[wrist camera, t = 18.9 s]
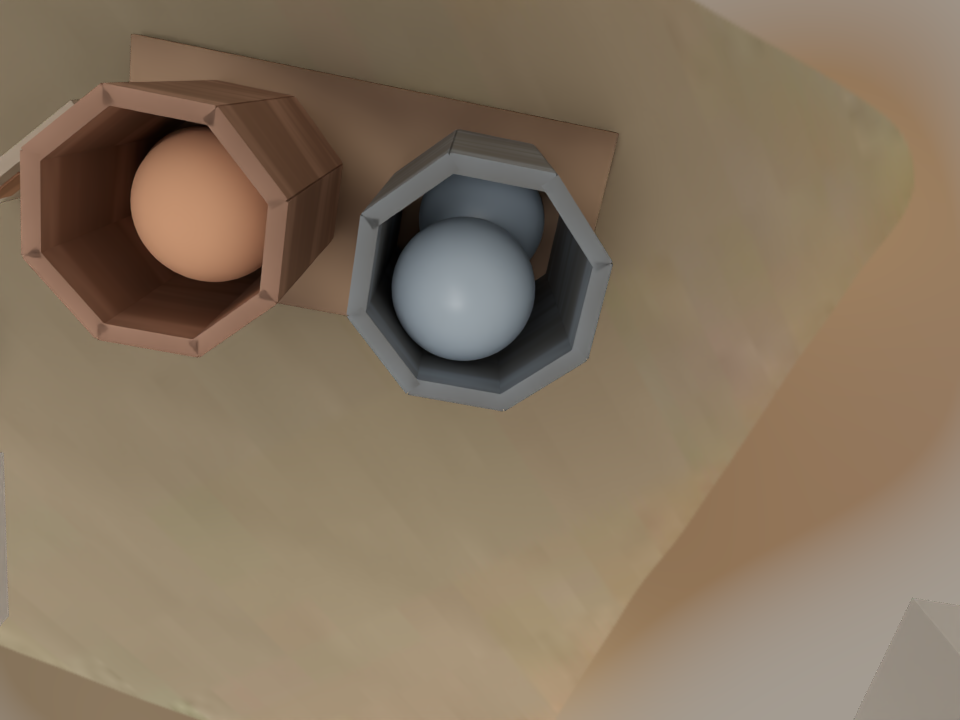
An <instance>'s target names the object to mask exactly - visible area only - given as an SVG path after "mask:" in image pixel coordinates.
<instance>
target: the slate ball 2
mask: <svg viewBox="0 0 960 720" xmlns="http://www.w3.org/2000/svg"><path fill="white" fill-rule="evenodd" d="M534 299H535V278H534V273H533V269H532V265H531V263H530V261H529V258H528V256H527V254H526V253H525V251H524V249H523V248H522V246H521V245H520V244H519V243H518V241H517V240H516V239H515V238H514V237H513V236H512V235H511V234H509V233H508V232H507V231H506V230H505V229H503V228H502V227H500V226H498V225H496V224H494V223H492V222H489V221H487V220H484V219H480V218H474V217H463V216H462V217H452V218H447V219H443V220H440V221H437V222H435V223H433V224H431V225H429V226H427V227H425V228H424V229H423V230H421V231H420V232H418V233H417V234H416V235H415V236H414V237H413V238H412V239H411V240H410V241H409V242H408V244H407V245H406V246H405V247H404V249H403V250H402V252H401V254H400V256H399V258H398V260H397V263H396V266H395V268H394V273H393V277H392V300H393V305H394V309H395V312H396V315H397V317H398V319H399V321H400V323H401V325H402V327H403V328H404V330H405V331H406V333H407V334H408V335H409V336H410V337H411V338H412V339H413V341H414V342H416V343H417V344H418V345H419V346H421V347H422V348H423V349H425V350H426V351H428V352H430V353H432V354H434V355H436V356H439V357H442V358H445V359H449V360H456V361H470V360H478V359H482V358H485V357H488V356H491V355H493V354H495V353H497V352H499V351H501V350H502V349H504V348H505V347H507V346H508V345H509V344H510V343H511V342H513V341H514V340H515V339H516V337H517V336H518V335H519V334H520V333H521V331H522V330H523V328H524V327H525V325H526V323H527V321H528V319H529V317H530V315H531V312H532V309H533V305H534Z"/></svg>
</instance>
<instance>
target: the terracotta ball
mask: <svg viewBox="0 0 960 720" xmlns="http://www.w3.org/2000/svg"><path fill="white" fill-rule="evenodd" d="M130 203H131V213H132V218H133V222H134V226H135V228H136V231H137V233H138V235H139V237H140V239H141V241H142V242H143V244H144V245H145V246H146V248H147V249H148V250H149V252H150V253H151V254H152V255H153V256H154V257H155V258H156V259H157V260H158V261H159V262H161V263H162V264H163V265H165V266H166V267H167V268H169V269H171V270H172V271H174V272H176V273H178V274H180V275H183V276H185V277H187V278H191V279H195V280H199V281H206V282H224V281H230V280H234V279H238V278H241V277H243V276H246V275H248V274H250V273H252V272H254V271H256V270H257V269H259V268H260V267H261V266H262V263H263V252H264V242H265V232H266V221H267V211H268V204H267V202H266V201H265V200H264V199H263V197H262V196H261V195H260V193H259V192H258V191H257V189H256V188H255V187H254V185H253V184H252V183H251V182H250V180H249V179H248V178H247V176H246V175H245V174H244V172H243V171H242V170H241V168H240V167H239V166H238V165H237V163H236V162H235V161H234V159H233V158H232V157H231V155H230V154H229V153H228V152H227V150H226V149H225V148H224V146H223V145H222V144H221V142H220V141H219V140H218V138H217V137H216V136H215V135H214V133H213V132H212V131H211V130H193V131H188V132H183V133H180V134H177V135H175V136H172V137H170V138H168V139H166V140H164V141H163V142H161V143H160V144H159V145H157V146H156V147H155V148H154V149H152V150H151V151H150V153H149V154H148V155H147V156H146V157H145V158H144V160H143V161H142V163H141V164H140V166H139V168H138V170H137V172H136V174H135V177H134V180H133V184H132V189H131V198H130Z"/></svg>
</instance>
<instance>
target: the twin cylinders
mask: <svg viewBox="0 0 960 720" xmlns="http://www.w3.org/2000/svg"><path fill="white" fill-rule="evenodd" d="M194 126H206V127H209V128H210V129H211V131H212V132H213V133H214V135H215V136H216V137H217V138H218V140H219V141H220V142H221V144H222V145H223V146H224V148H225V149H226V150H227V152H228V153H229V154H230V155H231V157H232V158H233V159H234V161H235V162H236V163H237V165H238V166H239V167H240V168H241V170H242V171H243V172H244V174H245V175H246V176H247V178H248V179H249V180H250V182H251V183H252V184H253V185H254V187H255V188H256V189H257V191H258V192H259V193H260V195H261V196H262V197H263V199H264V200H265V201H266V202H267V204H268V211H267V221H266V232H265V242H264V252H263V263H262V266H261V267H260V268H259V269H257V270H256V271H254V272H252V273H250V274H248V275H246V276H243V277H241V278H238V279H234V280H230V281H224V282H206V281H199V280H195V279H191V278H187V277H185V276H183V275H180V274H178V273H176V272H174V271H172V270H171V269H169V268H167V267H166V266H165V265H163V264H162V263H161V262H159V261H158V260H157V259H156V258H155V257H154V256H153V255H152V254H151V253H150V252H149V250H148V249H147V248H146V246H145V245H144V244H143V242H142V241H141V239H140V237H139V235H138V233H137V231H136V228H135V226H134V222H133V218H132V213H131V203H130V198H131V189H132V184H133V180H134V177H135V174H136V172H137V170H138V168H139V166H140V164H141V163H142V161H143V160H144V158H145V157H146V155H147V154H148V152H149V151H150V149H151V148H152V147H153V146H154V145H155V144H156V143H157V142H158V141H159V140H161V139H162V138H163V137H165V136H166V135H168V134H170V133H172V132H174V131H177V130H180V129H183V128H188V127H194ZM618 135H619V134H618V133H616V132H611V131H606V130H601V129H596V128H592V127H587V126H582V125H577V124H572V123H567V122H562V121H557V120H553V119H548V118H543V117H538V116H533V115H528V114H523V113H518V112H514V111H509V110H504V109H499V108H494V107H489V106H484V105H479V104H475V103H470V102H465V101H460V100H455V99H450V98H445V97H440V96H436V95H431V94H426V93H421V92H416V91H411V90H406V89H401V88H397V87H392V86H387V85H382V84H377V83H372V82H367V81H362V80H358V79H353V78H348V77H343V76H338V75H333V74H328V73H323V72H318V71H314V70H309V69H304V68H299V67H294V66H289V65H284V64H279V63H275V62H270V61H265V60H260V59H255V58H250V57H245V56H240V55H236V54H231V53H226V52H221V51H216V50H211V49H206V48H201V47H197V46H192V45H187V44H182V43H177V42H172V41H167V40H162V39H158V38H153V37H148V36H143V35H137V34H131V55H130V82H116V83H100V84H99V85H98V86H96V87H95V88H94V89H93V90H91V91H90V92H89V93H88V94H86V95H85V96H84V97H83V98H82V99H78V100H70V101H69V102H67V103H66V104H65V105H64V106H62V107H61V108H60V109H59V110H57V111H56V112H55V113H54V114H53V115H51V116H50V117H49V118H48V119H46V120H45V121H44V122H43V123H41V124H40V125H39V126H38V127H37V128H35V129H34V130H33V131H32V132H30V133H29V134H28V135H27V136H25V137H24V138H23V139H22V140H21V141H19V142H18V143H17V144H16V145H14V146H13V147H12V148H11V149H9V150H8V151H7V152H6V153H5V154H3V155H2V156H1V157H0V203H2V202H5V201H9V200H13V199H16V198H20V199H21V255H23V257H22V258H23V259H24V260H25V261H26V262H27V263H28V265H29V266H30V267H31V268H32V269H33V270H34V271H35V272H36V273H37V274H38V276H39V277H40V278H41V279H42V280H43V281H44V282H45V283H46V284H47V286H48V287H49V288H50V289H51V290H52V291H53V292H54V293H55V294H56V296H57V297H58V298H59V299H60V300H61V301H62V302H63V303H64V304H65V306H66V307H67V308H68V309H69V310H70V311H71V312H72V313H73V314H74V316H75V317H76V318H77V319H78V320H79V321H80V322H81V323H82V324H83V326H84V327H85V328H86V329H87V330H88V331H89V332H90V333H91V334H92V336H93V337H94V338H97V337H98V338H97V340H102V341H107V342H113V343H119V344H124V345H130V346H136V347H141V348H147V349H153V350H158V351H164V352H170V353H175V354H181V355H187V356H192V357H201V356H202V355H204V354H205V353H207V352H208V351H210V350H211V349H212V348H214V347H215V346H217V345H218V344H220V343H221V342H223V341H224V340H225V339H227V338H228V337H230V336H231V335H233V334H234V333H236V332H237V331H238V330H240V329H241V328H243V327H244V326H246V325H247V324H249V323H250V322H251V321H253V320H254V319H256V318H257V317H259V316H260V315H262V314H263V313H264V312H266V311H267V310H269V309H270V308H272V307H273V306H275V305H276V304H277V303H280V304H285V305H291V306H296V307H302V308H307V309H313V310H318V311H323V312H329V313H334V314H340V315H345V316H347V318H348V319H349V320H350V321H351V323H352V324H353V325H354V327H355V328H356V329H357V331H358V332H359V333H360V334H361V336H362V337H363V338H364V340H365V341H366V342H367V344H368V345H369V346H370V347H371V349H372V350H373V351H374V353H375V354H376V355H377V357H378V358H379V359H380V360H381V362H382V363H383V364H384V366H385V367H386V368H387V370H388V371H389V372H390V373H391V375H392V376H393V377H394V379H395V380H396V381H397V383H398V384H399V385H400V386H401V388H402V389H403V390H404V392H405V393H408V395H413V396H419V397H424V398H430V399H436V400H441V401H447V402H453V403H458V404H464V405H470V406H475V407H481V408H487V409H492V410H498V411H503V409H504V411H506V410H507V409H509V408H511V407H512V406H514V405H516V404H517V403H519V402H520V401H522V400H524V399H525V398H527V397H529V396H530V395H532V394H534V393H535V392H537V391H538V390H540V389H542V388H543V387H545V386H547V385H548V384H550V383H551V382H553V381H555V380H556V379H558V378H560V377H561V376H563V375H565V374H566V373H568V372H569V371H571V370H573V369H574V368H576V367H578V366H579V365H581V364H583V363H584V362H586V361H587V360H586V359H588V358H589V354H590V350H591V346H592V342H593V339H594V335H595V331H596V327H597V323H598V319H599V316H600V312H601V308H602V304H603V300H604V296H605V293H606V289H607V285H608V281H609V277H610V273H611V270H612V266H613V264H612V260H611V258H610V257H609V255H608V254H607V252H606V250H605V249H604V247H603V246H602V244H601V242H600V241H599V239H598V238H597V236H596V234H595V233H594V232H595V228H596V224H597V220H598V215H599V211H600V207H601V203H602V199H603V195H604V191H605V187H606V183H607V179H608V175H609V171H610V167H611V163H612V159H613V155H614V151H615V147H616V143H617V139H618ZM452 174H458V175H463V176H468V177H473V178H478V179H483V180H488V181H493V182H498V183H503V184H508V185H513V186H518V187H523V188H528V189H533V190H538V193H539V195H540V197H541V200H542V204H543V209H544V230H543V234H542V238H541V241H540V243H539V246H538V248H537V250H536V252H535V253H534V255H533V256H532V258H531V259H530V260H529V261H530V263H531V265H532V269H533V273H534V278H535V299H534V305H533V309H532V312H531V315H530V317H529V319H528V321H527V323H526V325H525V327H524V328H523V330H522V331H521V333H520V334H519V335H518V336H517V337H516V339H515V340H514V341H513V342H511V343H510V344H509V345H508V346H507V347H505V348H504V349H502V350H501V351H499V352H497V353H495V354H493V355H491V356H488V357H485V358H482V359H478V360H470V361H456V360H449V359H445V358H442V357H439V356H436V355H434V354H432V353H430V352H428V351H426V350H425V349H423V348H422V347H421V346H419V345H418V344H417V343H416V342H414V341H413V339H412V338H411V337H410V336H409V335H408V334H407V333H406V331H405V330H404V328H403V327H402V325H401V323H400V321H399V319H398V317H397V315H396V312H395V309H394V305H393V300H392V277H393V273H394V268H395V266H396V263H397V260H398V258H399V256H400V254H401V252H402V250H403V249H404V247H405V246H406V245H407V244H408V242H409V241H410V240H411V239H412V238H413V237H414V236H415V235H416V234H417V233H418V232H420V228H419V211H420V205H421V201H422V198H423V196H424V194H425V193H426V192H428V191H429V190H431V189H432V188H434V187H435V186H437V185H438V184H439V183H441V182H442V181H444V180H445V179H447V178H448V177H450V176H451V175H452Z"/></svg>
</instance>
